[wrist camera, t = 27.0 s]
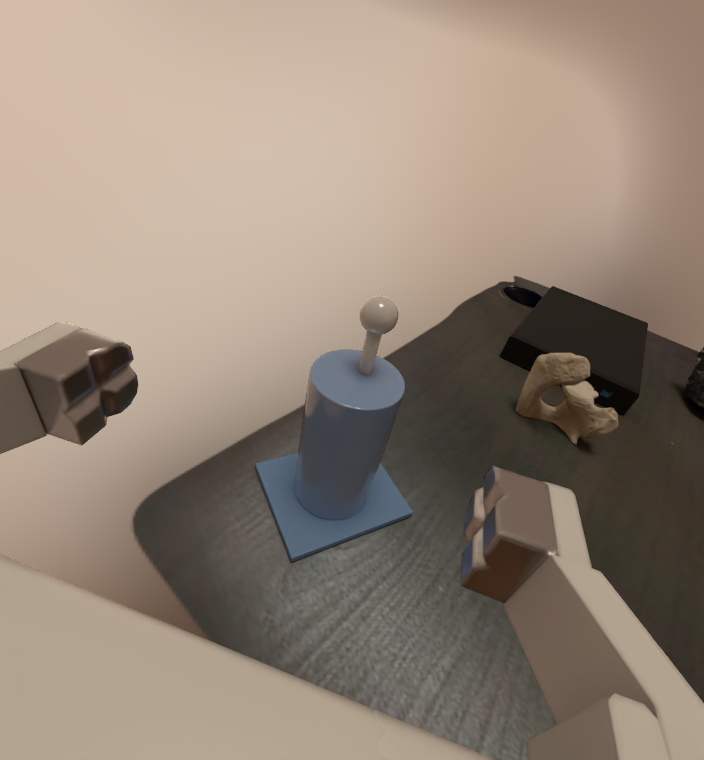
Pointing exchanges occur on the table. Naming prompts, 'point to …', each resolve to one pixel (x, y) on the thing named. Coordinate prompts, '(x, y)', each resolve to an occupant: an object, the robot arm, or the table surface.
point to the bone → (566, 397)
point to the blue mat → (317, 533)
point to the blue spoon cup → (348, 420)
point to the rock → (697, 381)
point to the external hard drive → (585, 344)
